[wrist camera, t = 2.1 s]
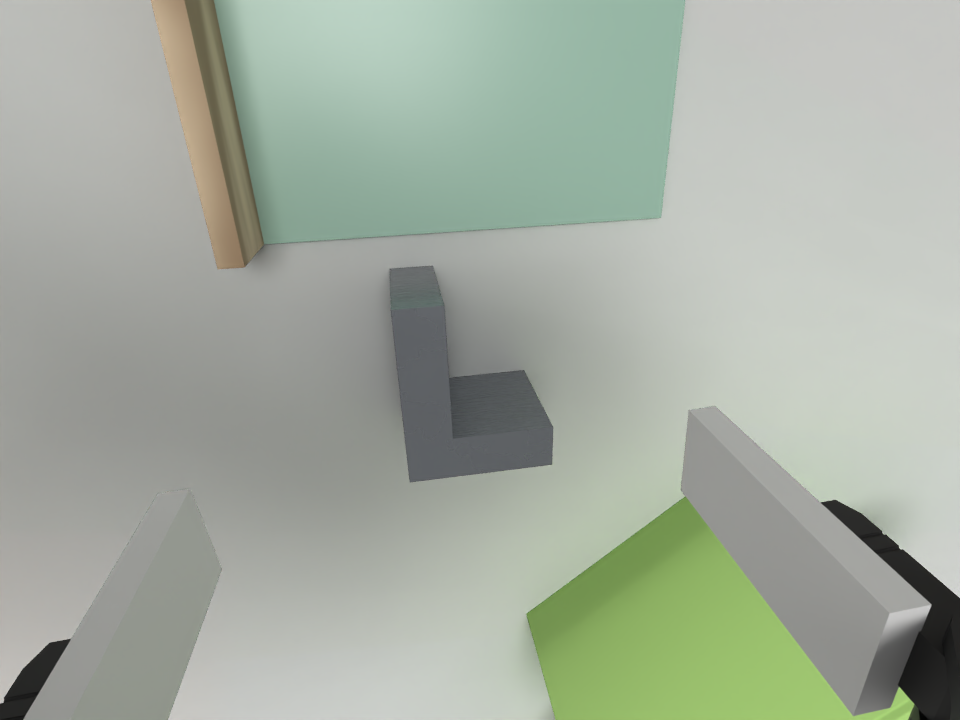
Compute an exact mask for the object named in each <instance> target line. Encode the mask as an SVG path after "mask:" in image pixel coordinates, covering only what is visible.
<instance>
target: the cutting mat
mask: <svg viewBox="0 0 960 720" xmlns="http://www.w3.org/2000/svg"><path fill="white" fill-rule="evenodd" d="M214 3H215V8H216V13H217V18H218V23H219V28H220V33H221V37H222V42H223V47H224V52H225V57H226V62H227V66H228V71H229V76H230V81H231V86H232V91H233V96H234V100H235V105H236V110H237V115H238V120H239V125H240V130H241V134H242V139H243V144H244V149H245V154H246V159H247V163H248V168H249V173H250V178H251V183H252V188H253V193H254V197H255V202H256V207H257V212H258V217H259V222H260V226H261V231H262V236H263V241H264V244H276V243H291V242H306V241H321V240H336V239H351V238H366V237H381V236H396V235H411V234H426V233H440V232H455V231H470V230H485V229H500V228H515V227H530V226H545V225H560V224H575V223H590V222H605V221H619V220H634V219H649V218H661V213H662V204H663V195H664V186H665V177H666V168H667V159H668V150H669V141H670V132H671V123H672V114H673V105H674V96H675V87H676V78H677V69H678V60H679V51H680V42H681V33H682V24H683V15H684V6H685V0H214Z"/></svg>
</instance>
